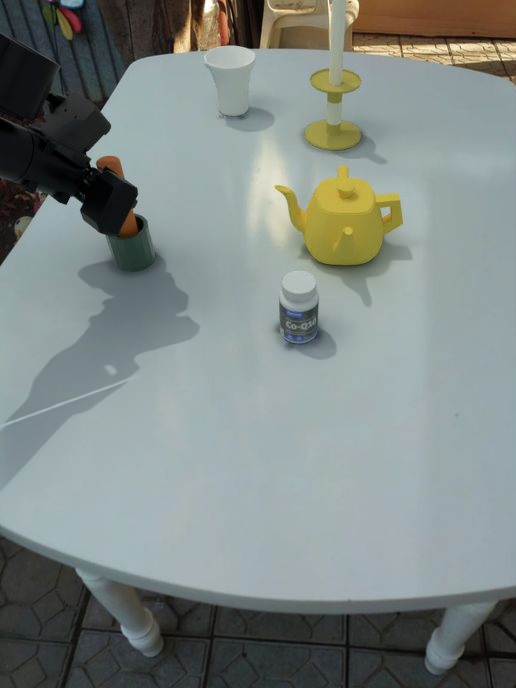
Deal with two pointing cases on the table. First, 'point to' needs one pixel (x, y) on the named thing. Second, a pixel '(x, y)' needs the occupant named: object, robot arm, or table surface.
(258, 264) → the table surface
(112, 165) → the orange cylindrical rod
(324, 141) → the candle
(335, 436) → the table surface
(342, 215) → the teapot
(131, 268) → the green cylindrical container
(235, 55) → the cup
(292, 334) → the pill bottle
